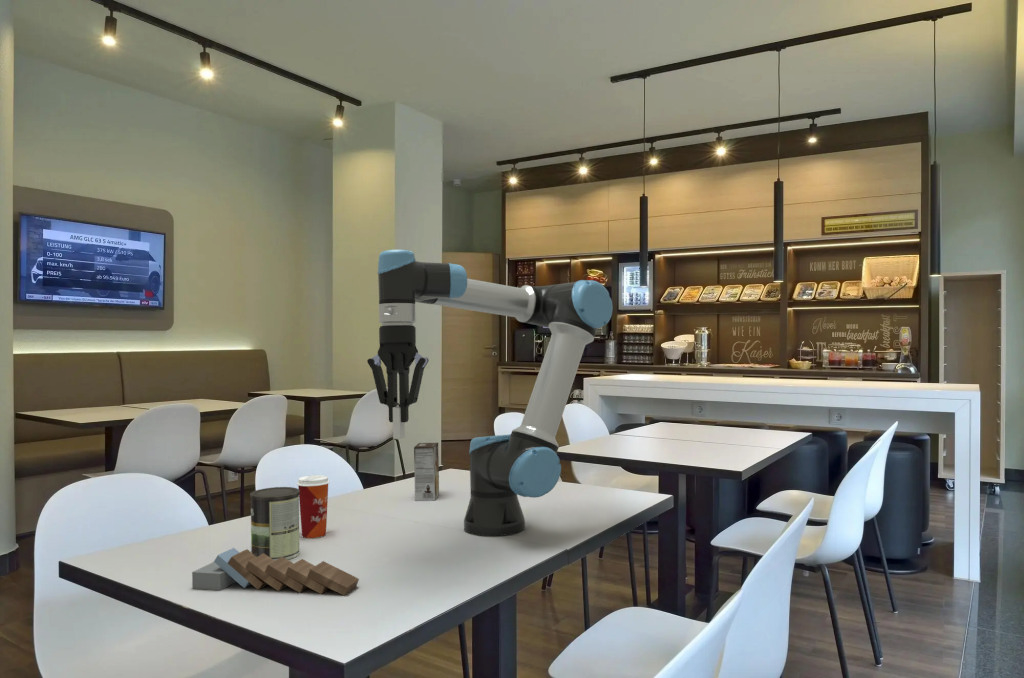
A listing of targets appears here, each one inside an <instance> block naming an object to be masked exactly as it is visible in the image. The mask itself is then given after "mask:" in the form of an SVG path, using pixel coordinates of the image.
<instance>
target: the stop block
mask: <svg viewBox="0 0 1024 678" xmlns="http://www.w3.org/2000/svg"><path fill="white" fill-rule="evenodd" d="M191 574H192V575H191V576H192V579H191V580H192V582H191V587H192V589H194V590H195V589H197V590H212V591H222V590H224V589H225V588H228V587H229V586H231V585H233V584H235V583H238V582H237V581H235V580H234V579H233V578H232V577H231V576H230V575H229V574H227V573H226V572H225V571H224V570H223V569H222V568H221V567H219V566H218V565H217V564H216V563H215V562H214V561H212V562H211V563H208V564H206V565H204V566H202V567H200V568H198V569H196V570H193V571H192V572H191Z"/></svg>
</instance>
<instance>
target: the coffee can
mask: <svg viewBox="0 0 1024 678" xmlns="http://www.w3.org/2000/svg"><path fill="white" fill-rule="evenodd" d="M299 493H300V490H299V488H297V487H292V486H289V487H288V486H276V487H266V488H261V489H260V488H259V489H257V490H254V491H252V492H250V493H249V496H250V532H251V533H250V537H251V538H250V539H251V540H250V544H251V545H250V548H251V551H250V552H251V553H252V554H253V555H255V556H256V557H258V556H259V555H261V554H263V553H264V554H266V555H267V556H268V557H270V558H271V559H273V560H274V561H275V560H277V559H279V558H281V557H284V558H286V559H287V560H289V561H290V560H292V559H295V558H297V557H298V556H299V555H300V554H301V552H300V502H299Z"/></svg>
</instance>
